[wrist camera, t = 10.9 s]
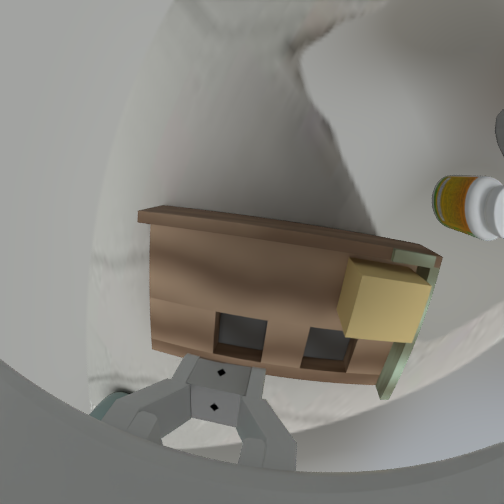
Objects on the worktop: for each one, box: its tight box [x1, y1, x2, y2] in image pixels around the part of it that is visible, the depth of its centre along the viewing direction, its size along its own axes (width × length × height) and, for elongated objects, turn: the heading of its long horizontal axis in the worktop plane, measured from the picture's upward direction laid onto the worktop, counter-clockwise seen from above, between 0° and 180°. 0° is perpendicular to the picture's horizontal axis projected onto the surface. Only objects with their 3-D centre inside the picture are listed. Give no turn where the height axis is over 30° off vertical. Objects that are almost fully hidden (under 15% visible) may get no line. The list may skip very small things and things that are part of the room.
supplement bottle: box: [432, 175, 504, 241], centre depth 18 cm, size 5×5×10 cm
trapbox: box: [138, 205, 443, 400], centre depth 25 cm, size 16×26×6 cm, turn 83°
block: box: [336, 257, 432, 343], centre depth 21 cm, size 5×6×5 cm
